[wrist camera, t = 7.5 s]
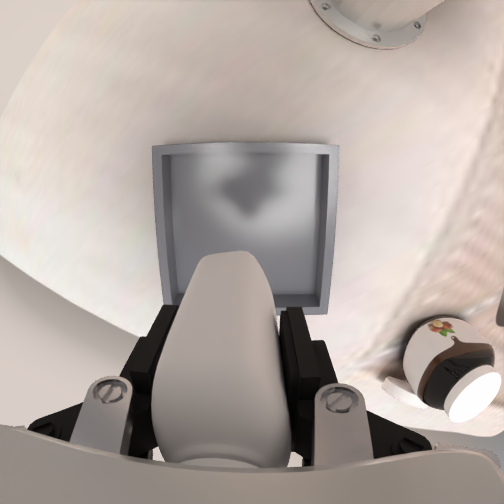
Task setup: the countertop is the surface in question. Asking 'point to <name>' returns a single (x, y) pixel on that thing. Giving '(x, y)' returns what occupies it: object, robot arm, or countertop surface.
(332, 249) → the dish
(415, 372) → the spread jar
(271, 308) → the eye dropper bottle
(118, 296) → the countertop surface
